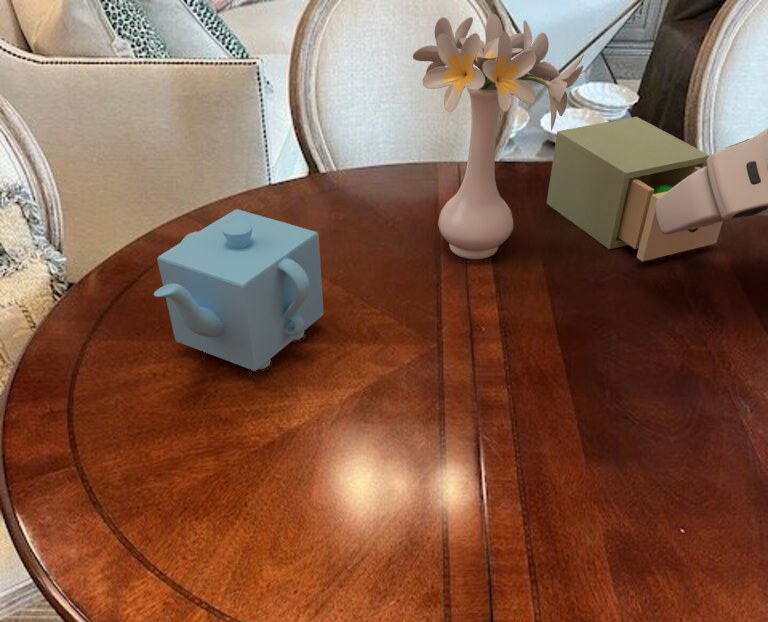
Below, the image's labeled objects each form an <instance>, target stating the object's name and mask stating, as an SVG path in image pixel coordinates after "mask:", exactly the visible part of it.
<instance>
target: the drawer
mask: <svg viewBox="0 0 768 622" xmlns="http://www.w3.org/2000/svg"><path fill="white" fill-rule="evenodd" d="M700 169H701V167H699V166H697V165H692V166H687V167H683V168H678V169H673V170H668V171H664V172H659V173H654V174H649V175H644V176H640V177H635V178H630V180H629V184H628V189H627V193H626V198H625V202H624V207H623V211H622V216H621V220H620V225H619V229H618V234H617V237H618V238H620V239H621V240H623V241H624V242H625V243H627V244H628V245H627V246H629V247H631V248H632V249H634V250H637V249H638V250H637V254H636V258H637V259H638V260H639V261H641V262H646V261H651V260H654V259H658V258H662V257H666V256H670V255H675V254H678V253H683V252H686V251H691V250H695V249H699V248H702V247H707V246H711V245H714V244H717V241H718V240H719V239H718V238H719V235H720V232H721V229H722V226H723V223H724V221H721V222H717V223H714V224H712V225H709V226H704V227H700V228H696V229H688V230H683V231H679V232H675V233H672V234H663V233H662V231H661V229H660V227H659V224H658V221H657V217H656V212H655V204H656V202H657V200H658V199H659V198H660V197H661V196H663V195H664V194H665V193H666V192H662V193H657V194H653V193H654V189H653V188H655V187H658V186H661V185H664V184H665V185H668V186H671V187H674V186H675V185H677V184H678V183H680V182H681V181H682V180H684V179H685V178H686V177H688V176H689V175H691V174H693V173H694V172H696V171H698V170H700ZM667 192H668V191H667Z"/></svg>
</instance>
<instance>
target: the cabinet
mask: <svg viewBox="0 0 768 622" xmlns="http://www.w3.org/2000/svg"><path fill="white" fill-rule="evenodd" d="M709 156H711V155H710V154H708V153H706V152H704V151H703V150H700V149H698V148H696V147H695V146H693V145H691V144H689V143H687V142H685V141H684V140H681V139H679V138H678V137H676V136H674V135H672V134H670V133H668V132H666V131H664V130H662V129H661V128H659V127H657V126H655V125H653V124H651V123H650V122H648V121H645V120H644V119H642V118H640V117H638V116H633V117H627V118H621V119H616V120H610V121H606V122H600V123H595V124H588V125H584V126H578V127H572V128H568V129H562V130H557V131H556V138H555V144H554V150H553V156H552V163H551V171H550V176H549V177H550V178H549V185H548V191H547V198H546V205H548V206H549V207H550V208H551V209H553V210H555V211H556V212H557V213H559V214H560V215H561V216H563V217H564V218H566V219H567V220H568V221H569V222H571V223H572V224H574V225H575V226H576V227H578V228H579V229H580V230H582V231H583V232H585V233H586V234H587V235H589V236H590V237H591V238H593V239H594V240H595V241H597V242H598V243H600V244H601V245H603V246H604V247H605V248H606V249H608V250H612V249H616V248H617V249H618V248H620V247H625V246H629V245H628V244H627V243H625V242H624V241H623V240H621V239H620V238H618V237H617V234H618V229H619V225H620V220H621V216H622V211H623V207H624V202H625V198H626V193H627V189H628V184H629V180H630V178H635V177H640V176H644V175H649V174H654V173H659V172H664V171H668V170H673V169H678V168H683V167H687V166H692V165H697V166H699V167H701V168H704V167H706V166H707V158H708V157H709Z"/></svg>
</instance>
